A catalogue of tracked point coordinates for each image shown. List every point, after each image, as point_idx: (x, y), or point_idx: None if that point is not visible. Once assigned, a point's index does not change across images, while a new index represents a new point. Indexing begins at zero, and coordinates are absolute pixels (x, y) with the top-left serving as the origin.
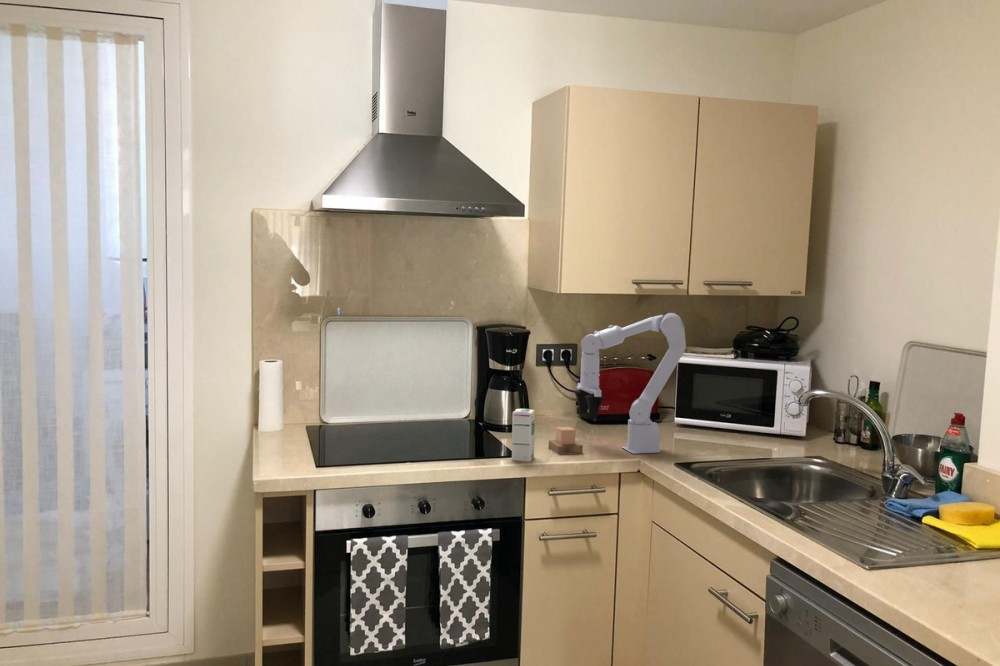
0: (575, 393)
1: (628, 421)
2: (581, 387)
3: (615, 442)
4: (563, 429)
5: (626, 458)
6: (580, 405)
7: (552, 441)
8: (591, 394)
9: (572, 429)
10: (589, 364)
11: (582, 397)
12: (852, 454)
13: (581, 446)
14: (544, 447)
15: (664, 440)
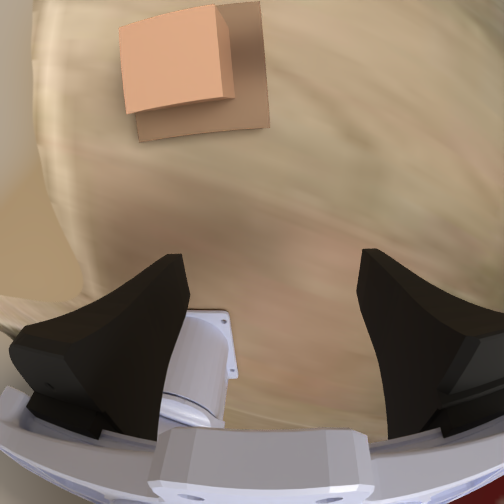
0: (495, 321)
1: (170, 396)
2: (162, 498)
3: (317, 319)
4: (139, 39)
5: (97, 270)
6: (388, 281)
7: (230, 12)
8: (92, 422)
9: (132, 95)
10: None
11: (410, 354)
12: None
13: (141, 136)
14: (281, 2)
15: (303, 414)
